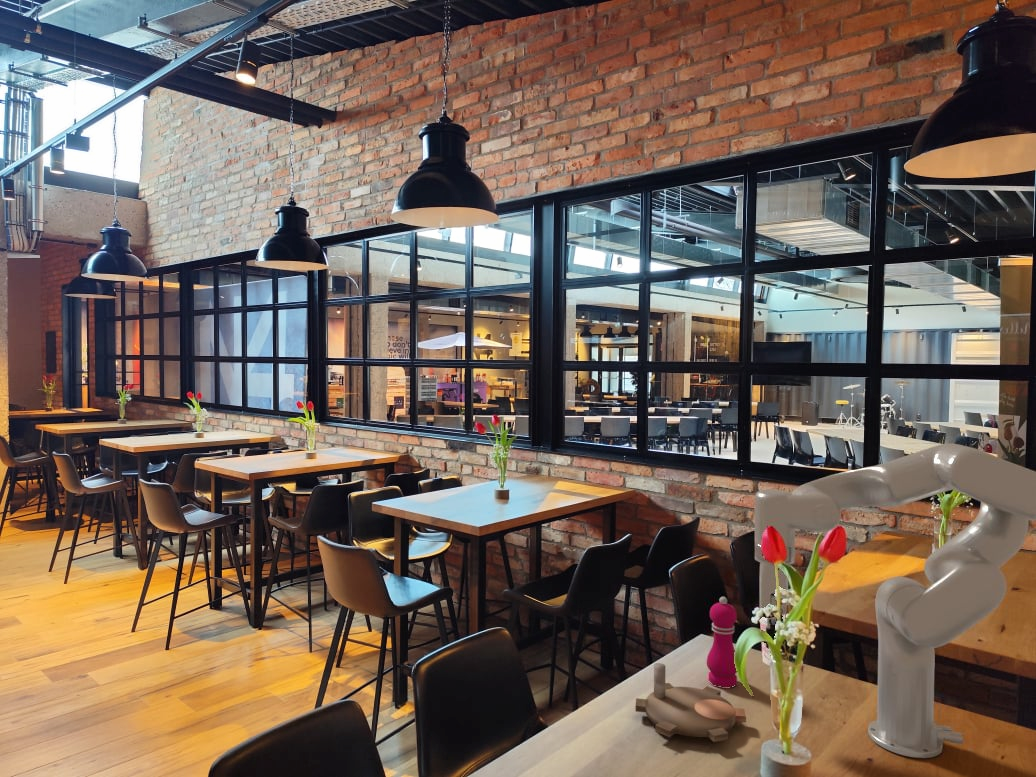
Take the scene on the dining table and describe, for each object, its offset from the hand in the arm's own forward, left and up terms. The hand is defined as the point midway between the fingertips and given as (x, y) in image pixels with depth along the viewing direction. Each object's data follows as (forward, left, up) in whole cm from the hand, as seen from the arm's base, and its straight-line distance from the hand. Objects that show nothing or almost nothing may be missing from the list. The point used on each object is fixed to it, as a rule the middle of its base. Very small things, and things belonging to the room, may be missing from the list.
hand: (774, 641), depth 136 cm
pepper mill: (+11, -18, -18) cm, 28 cm away
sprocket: (+16, +3, -16) cm, 23 cm away
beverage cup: (0, 0, -4) cm, 4 cm away
